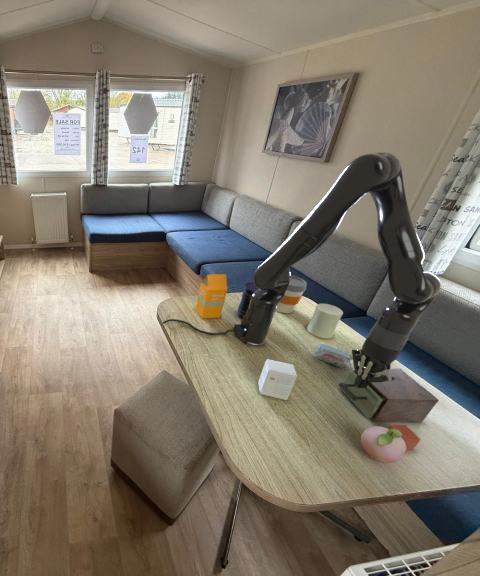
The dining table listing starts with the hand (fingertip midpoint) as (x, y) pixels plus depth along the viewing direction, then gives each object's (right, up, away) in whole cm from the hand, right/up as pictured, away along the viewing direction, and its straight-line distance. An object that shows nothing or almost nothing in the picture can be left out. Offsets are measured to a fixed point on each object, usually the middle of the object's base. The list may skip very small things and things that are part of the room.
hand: (359, 386), depth 93 cm
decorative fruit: (-6, -15, -11) cm, 20 cm away
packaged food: (+8, +2, +22) cm, 23 cm away
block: (+4, -13, -7) cm, 16 cm away
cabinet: (+10, -7, +4) cm, 13 cm away
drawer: (+6, -6, +4) cm, 9 cm away
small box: (-22, -4, +8) cm, 24 cm away
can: (+16, +11, +39) cm, 43 cm away
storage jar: (-10, +17, +48) cm, 52 cm away
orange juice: (-28, +18, +49) cm, 60 cm away
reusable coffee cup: (+10, +20, +55) cm, 60 cm away
